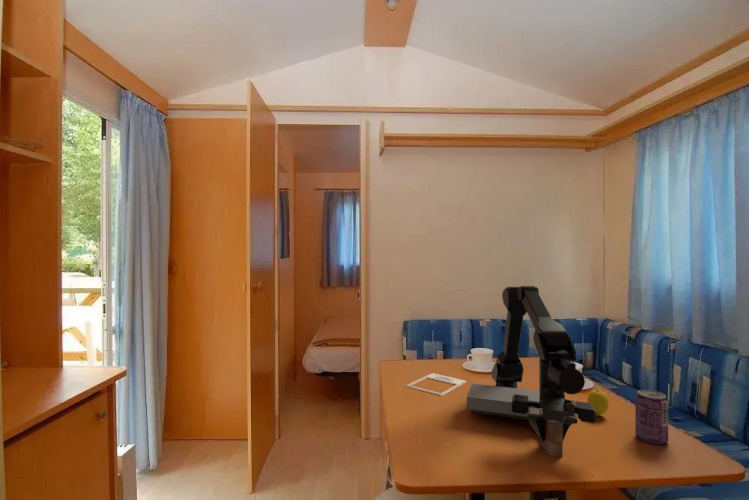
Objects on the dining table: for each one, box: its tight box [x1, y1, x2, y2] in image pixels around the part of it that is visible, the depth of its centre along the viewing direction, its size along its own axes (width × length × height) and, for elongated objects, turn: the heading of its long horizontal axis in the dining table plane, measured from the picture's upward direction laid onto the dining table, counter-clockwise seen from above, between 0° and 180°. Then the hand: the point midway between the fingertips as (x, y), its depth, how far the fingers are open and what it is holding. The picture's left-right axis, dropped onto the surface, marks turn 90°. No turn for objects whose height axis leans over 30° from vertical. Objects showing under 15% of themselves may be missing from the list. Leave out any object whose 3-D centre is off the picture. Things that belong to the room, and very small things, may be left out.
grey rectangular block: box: [466, 383, 542, 421], centre depth 119 cm, size 20×12×8 cm, turn 70°
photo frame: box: [405, 372, 467, 397], centre depth 149 cm, size 15×1×18 cm
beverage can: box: [634, 389, 669, 445], centre depth 106 cm, size 7×7×12 cm
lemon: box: [586, 388, 609, 417], centre depth 121 cm, size 6×6×8 cm
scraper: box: [528, 413, 564, 458], centre depth 106 cm, size 3×18×8 cm, turn 177°
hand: (551, 442), depth 100 cm, fingers closed on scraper, 4 cm apart
